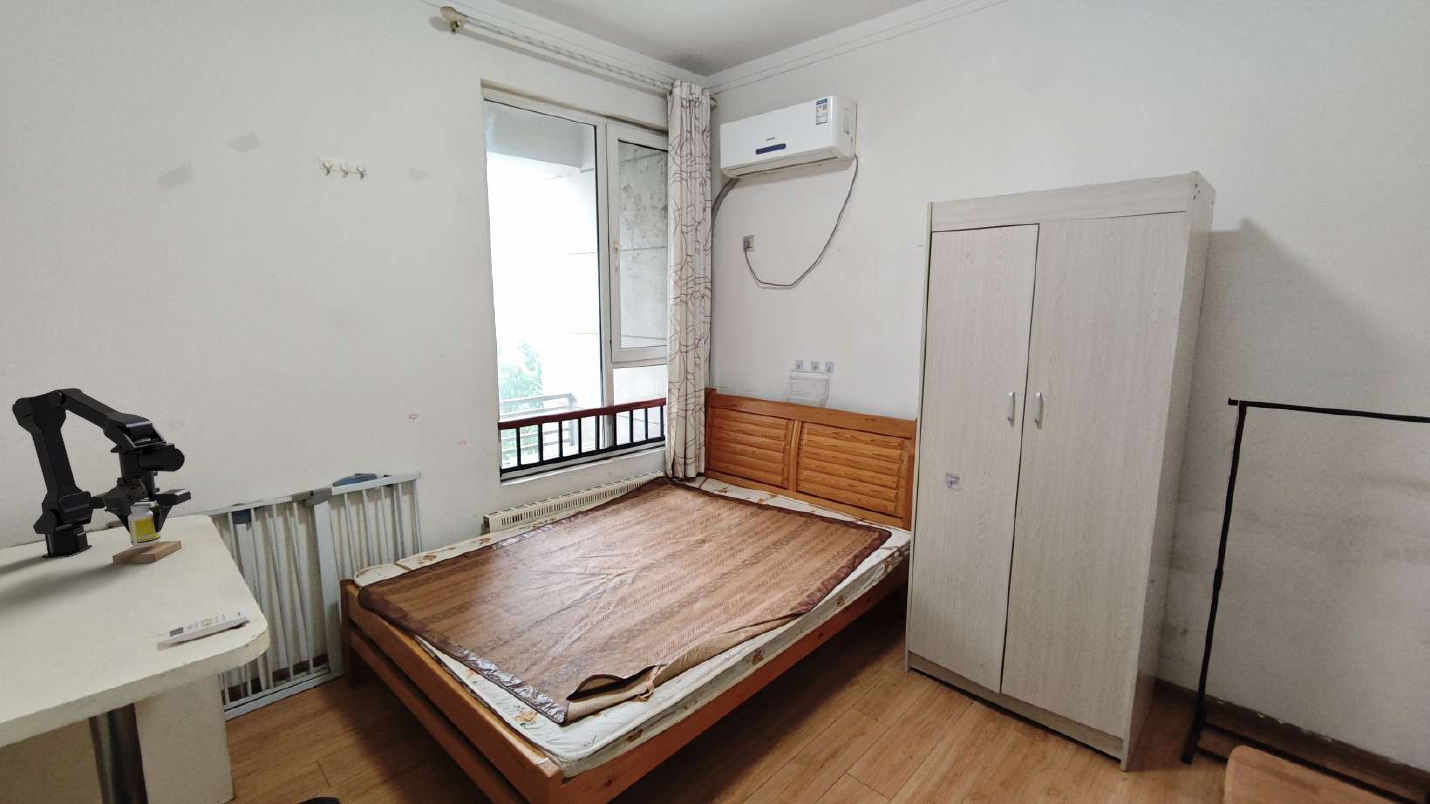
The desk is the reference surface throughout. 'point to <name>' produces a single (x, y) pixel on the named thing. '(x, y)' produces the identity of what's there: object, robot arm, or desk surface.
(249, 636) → the desk surface
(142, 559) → the base plate
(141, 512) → the supplement bottle
